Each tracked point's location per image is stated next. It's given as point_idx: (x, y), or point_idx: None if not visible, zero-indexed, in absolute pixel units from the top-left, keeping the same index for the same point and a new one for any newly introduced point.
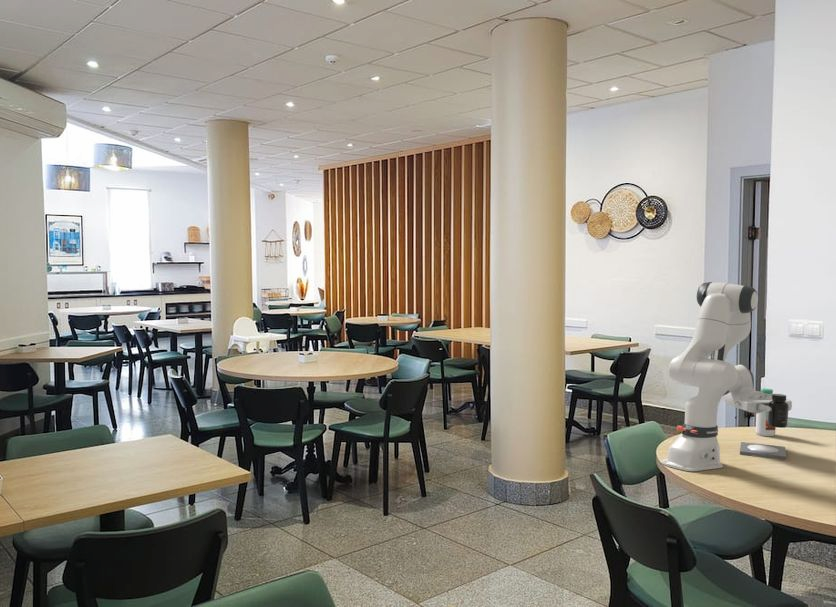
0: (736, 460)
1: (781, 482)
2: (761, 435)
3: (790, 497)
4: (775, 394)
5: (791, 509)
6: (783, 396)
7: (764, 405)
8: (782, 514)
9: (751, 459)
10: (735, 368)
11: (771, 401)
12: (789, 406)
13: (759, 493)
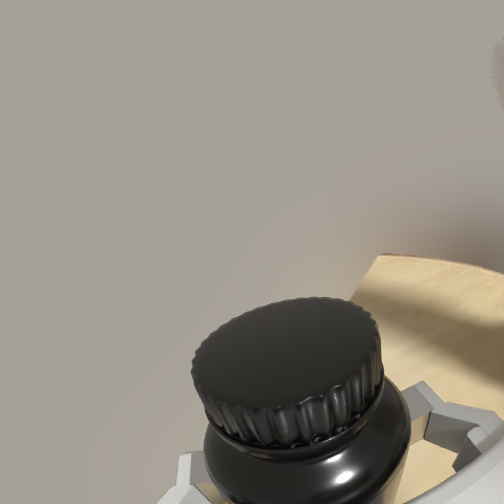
0: None
1: (404, 332)
2: None
3: (402, 288)
4: (324, 351)
5: (406, 265)
6: (272, 303)
7: (456, 414)
8: (417, 256)
9: None
10: (489, 56)
11: (388, 402)
12: (187, 452)
13: (441, 286)
